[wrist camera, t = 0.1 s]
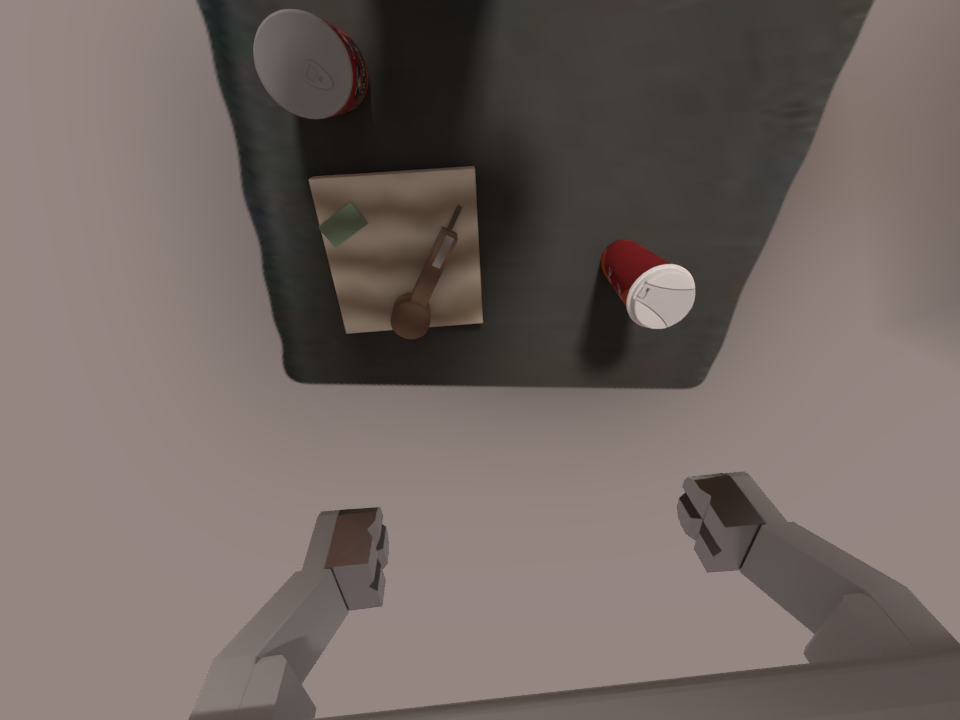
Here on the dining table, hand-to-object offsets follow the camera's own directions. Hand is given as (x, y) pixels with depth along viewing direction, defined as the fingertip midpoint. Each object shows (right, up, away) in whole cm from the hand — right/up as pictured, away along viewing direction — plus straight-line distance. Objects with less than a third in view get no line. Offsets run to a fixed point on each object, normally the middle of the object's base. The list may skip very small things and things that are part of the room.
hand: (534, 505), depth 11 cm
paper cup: (+18, +18, +47) cm, 54 cm away
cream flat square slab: (-11, +18, +45) cm, 49 cm away
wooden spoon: (-8, +14, +44) cm, 47 cm away
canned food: (-17, +34, +34) cm, 51 cm away
